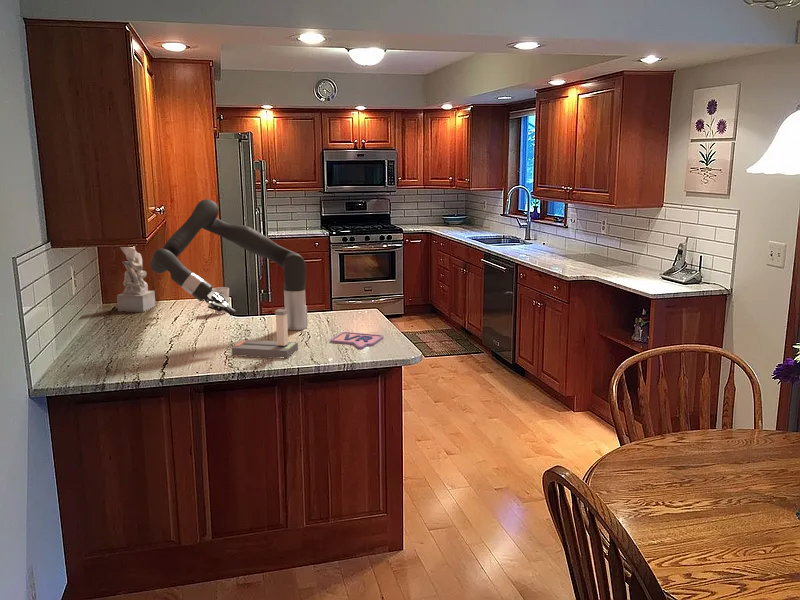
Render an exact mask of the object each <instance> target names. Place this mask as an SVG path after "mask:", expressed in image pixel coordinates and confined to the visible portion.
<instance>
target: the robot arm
mask: <svg viewBox="0 0 800 600" xmlns="http://www.w3.org/2000/svg"><path fill="white" fill-rule="evenodd" d="M219 213H220V212H219V205H218V204H217V202H215V201H214V200H211V199H207V198H206V199H202V200H200V201H198V203H197V204H196V205H195V207H194V209H193V211H192V213H191V214H190V216H189V217H188V218H187V220H186V221H185V222H184V223H183V224H181V226H180V227H179V228H178V229H177V230H176V231H175V232H174V233H173V234H172V235H171V236H170V237H169V238H168V239H167V240H166V242H165V243H164V245H163V247H162V248H161V247H160V248H158V249H156V250H155V251H154V252H153V254H152V257H151V258H150V260H149V261H150V262H149V267H150V269H151V270H152V272H154V273H157V274H163V273H166V272H167V271H168V273H169V275H170V279H171V280H172V281H173V282H174V283H176V284H177V285H179V286H180V287H181V288H182V289H183V290H184V291H185V292H187V293H188V294H190V295H191V296H192V297H194V298H195V299H196V300H198V301H199V302H203V301H205V303H206V304H208V305H207V308H208V309H211V310H214V311H215V310H217V311H220V312H221V311H225V312H227V313H228V314H227V315H230V316H234V315H235V313H236V309H234V308H232V307H231V306H230V305H229V302H228V300H227V299H226V297H225V296H224V294H223V293H222V292H220V294H218V293H217V292H215V291H213V290H212V289H213V288H214V287H213V285H212V284H210V283H209V282H208V281H206V280H205V279H203V278H202V277H201V276H200V275H198V274H196V273H195V272H194V271H191V270H190V269H188V268H187V267H186V266H185V265H183V263H182V262H181V261H180V259H179V258H178V257H179V256H180V255H181V254H182V253H183V252H184V251H185V250H186V248H188V246H189V245H191V243H192V242H193V240H194V238H195V237H196V236H197V234H198V233H199V232H200V230H201V229H203V230H206V231H208V232H210V233H212V234H215V235H217V236H220V237H222V238H224V239H226V240H227V241H229V242H231V243H233V244H235V245H237V246H238V247H240V248H242V249H243V250H246V251H248V252H249V253H251V254H254V255H256V256H259V257H262V258H265V259H268V260H270V261H272V262H274V263H275V264H277V265H278V266H279V267H281V268H283V276H284V279H283V280H284V282H283V296H284V297H283V299H284V300H283V301H284V302H283V303H284V309H288V313H287V324H288V331H289V330H290V331H301V330H305V329H306V328H307V327H308V326H309V325H308V306H307V305H306V304H307V303H306V299H307V298H306V283H307V279H306V278H307V276H306V275H307V273H306V271H307V269H306V260H305V259H304V257H303V256H302V255H301V254H299V253H298V252H295V251H292V250H290V249H287V248H285V247H283V246H281V245H279V244H277V243H276V242H275V241H273V240H272V239H270V238H269V237H267V236H266V235H265V234H262V233H261V232H260V231H258V230H256V229H254V228H252V227H251V226H248V225H243V224H234V223H229V222H226V221H224V220H221V219H219V218H218V215H219Z"/></svg>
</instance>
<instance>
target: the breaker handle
mask: <svg viewBox="0 0 800 600" xmlns="http://www.w3.org/2000/svg"><path fill="white" fill-rule="evenodd" d="M287 313H288V309H285V308H278V309H275V311H274V315H275V324H276V326H275V329H276V341H277V345H283V346H285V345H286V344H287V343H288V342H289V332H288V331H289V330H288V324H287Z"/></svg>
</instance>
